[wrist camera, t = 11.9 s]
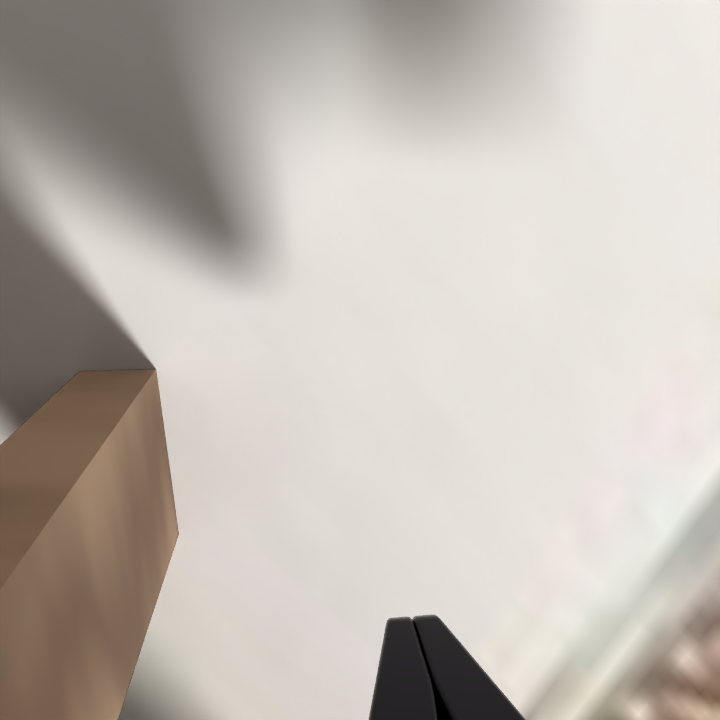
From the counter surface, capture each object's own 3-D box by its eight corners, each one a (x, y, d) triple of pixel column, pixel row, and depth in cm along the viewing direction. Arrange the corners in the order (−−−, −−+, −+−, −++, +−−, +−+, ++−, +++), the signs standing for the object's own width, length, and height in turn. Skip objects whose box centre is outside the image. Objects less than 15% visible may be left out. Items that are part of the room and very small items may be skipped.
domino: (178, 534, 14) (-40, 1197, 5) (112, 538, 14) (-239, 1235, 5) (156, 369, 13) (-240, 927, 3) (79, 371, 12) (-562, 969, 3)
